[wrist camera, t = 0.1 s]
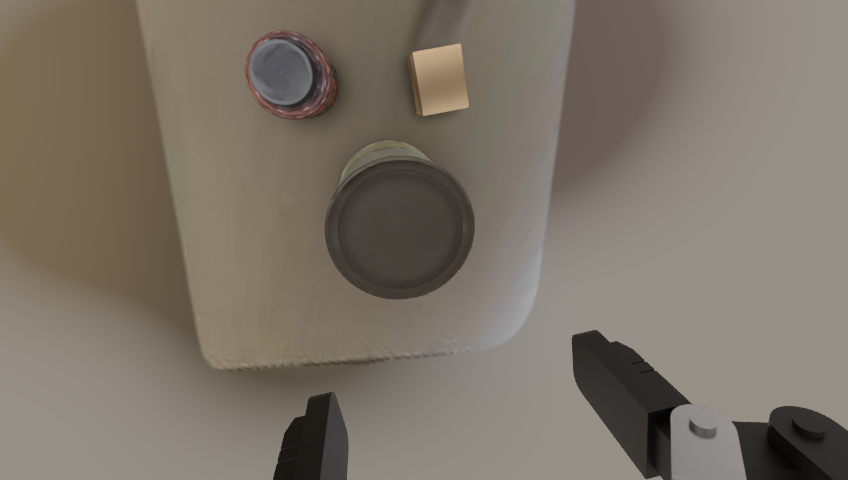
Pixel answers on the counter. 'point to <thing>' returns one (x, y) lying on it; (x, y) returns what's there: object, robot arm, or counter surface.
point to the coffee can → (398, 222)
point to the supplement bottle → (290, 76)
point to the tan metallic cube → (438, 80)
